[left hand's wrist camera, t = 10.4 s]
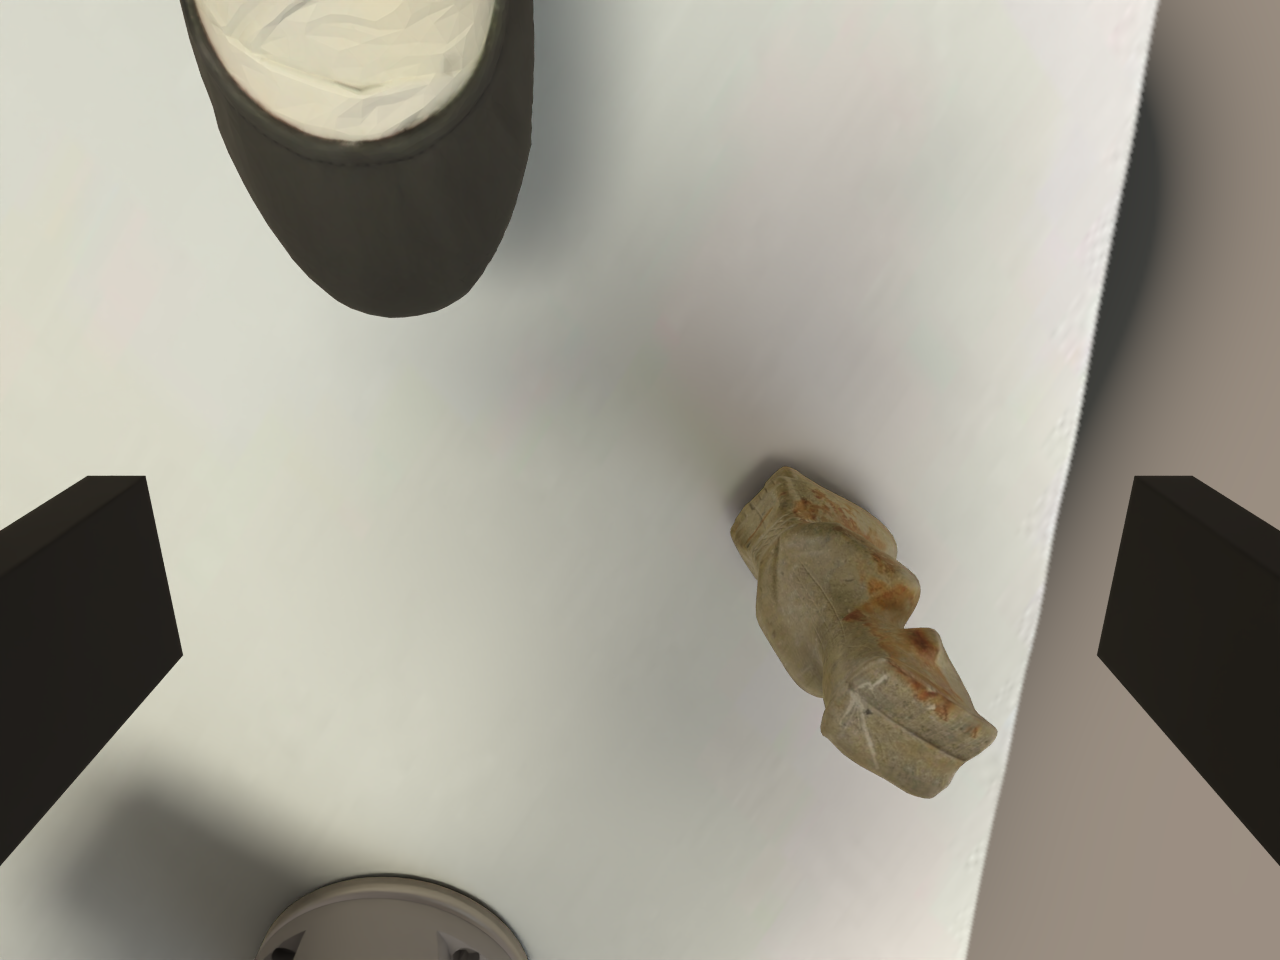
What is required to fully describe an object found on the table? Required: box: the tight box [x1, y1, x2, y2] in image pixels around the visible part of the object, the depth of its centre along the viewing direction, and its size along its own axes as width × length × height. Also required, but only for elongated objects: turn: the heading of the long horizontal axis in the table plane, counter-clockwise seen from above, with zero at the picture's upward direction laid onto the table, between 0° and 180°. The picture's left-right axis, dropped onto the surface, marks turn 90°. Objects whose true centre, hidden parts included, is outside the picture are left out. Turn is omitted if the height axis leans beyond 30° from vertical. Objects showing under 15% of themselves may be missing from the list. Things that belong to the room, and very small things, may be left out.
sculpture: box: [730, 466, 998, 799], centre depth 34 cm, size 6×7×15 cm
